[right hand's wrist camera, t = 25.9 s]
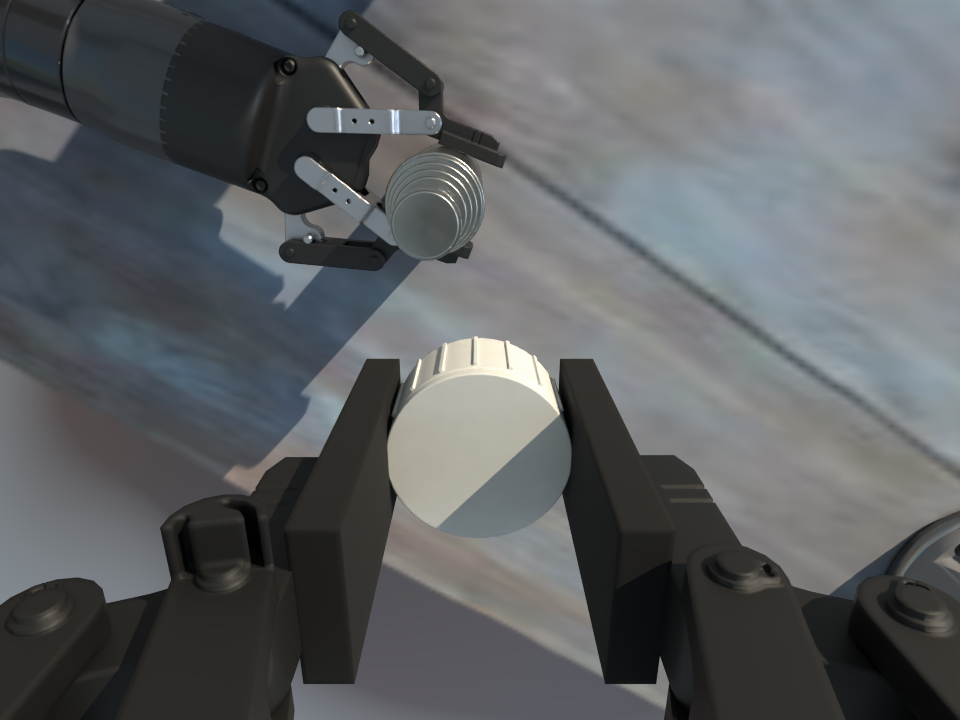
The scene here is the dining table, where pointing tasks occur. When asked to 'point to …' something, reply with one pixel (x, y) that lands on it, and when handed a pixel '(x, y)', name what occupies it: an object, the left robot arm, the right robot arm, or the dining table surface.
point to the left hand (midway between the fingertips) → (485, 206)
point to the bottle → (435, 202)
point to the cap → (478, 439)
